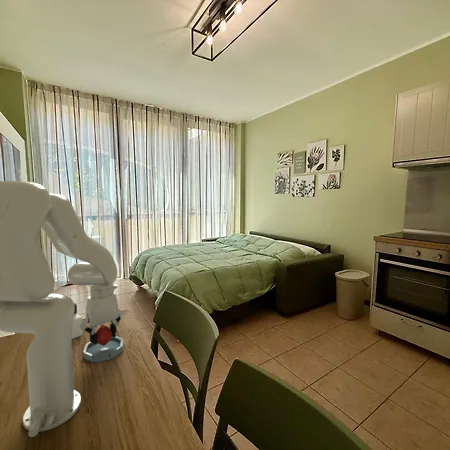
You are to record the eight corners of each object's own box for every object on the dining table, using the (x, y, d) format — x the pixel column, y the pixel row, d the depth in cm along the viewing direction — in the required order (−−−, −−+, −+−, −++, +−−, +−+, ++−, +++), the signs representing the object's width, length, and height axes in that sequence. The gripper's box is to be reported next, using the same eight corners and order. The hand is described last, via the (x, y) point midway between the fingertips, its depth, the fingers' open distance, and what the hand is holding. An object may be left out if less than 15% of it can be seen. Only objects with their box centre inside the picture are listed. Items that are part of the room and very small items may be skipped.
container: (74, 329, 108) (73, 299, 107) (83, 334, 104) (81, 304, 102) (53, 336, 102) (52, 305, 100) (62, 343, 97) (60, 310, 96)
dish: (122, 358, 89) (122, 352, 89) (79, 365, 85) (79, 359, 85) (124, 338, 101) (124, 333, 101) (87, 343, 97) (87, 338, 97)
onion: (95, 342, 94) (94, 322, 93) (112, 339, 97) (111, 319, 96) (94, 351, 89) (93, 330, 88) (112, 347, 91) (111, 326, 90)
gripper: (120, 283, 100) (121, 327, 101) (71, 295, 87) (73, 345, 89) (130, 288, 95) (131, 334, 97) (79, 301, 82) (81, 354, 84)
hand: (103, 338), depth 93 cm, fingers open, 6 cm apart
